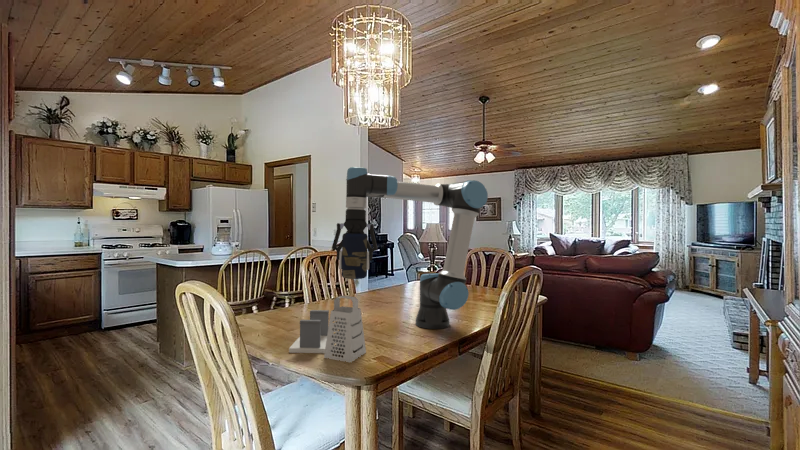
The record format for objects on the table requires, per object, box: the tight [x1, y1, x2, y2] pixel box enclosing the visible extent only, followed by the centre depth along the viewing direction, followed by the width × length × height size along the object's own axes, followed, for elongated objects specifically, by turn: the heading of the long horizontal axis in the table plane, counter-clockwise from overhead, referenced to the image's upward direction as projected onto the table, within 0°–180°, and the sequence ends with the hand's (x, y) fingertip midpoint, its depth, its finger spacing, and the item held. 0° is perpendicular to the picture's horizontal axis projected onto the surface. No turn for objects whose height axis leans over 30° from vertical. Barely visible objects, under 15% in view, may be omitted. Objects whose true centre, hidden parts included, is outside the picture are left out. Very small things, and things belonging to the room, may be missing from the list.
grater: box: [323, 295, 367, 363], centre depth 131 cm, size 10×10×20 cm
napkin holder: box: [288, 309, 330, 354], centre depth 141 cm, size 14×17×11 cm
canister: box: [341, 232, 369, 280], centre depth 142 cm, size 10×10×18 cm
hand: (354, 268), depth 142 cm, fingers closed on canister, 9 cm apart
